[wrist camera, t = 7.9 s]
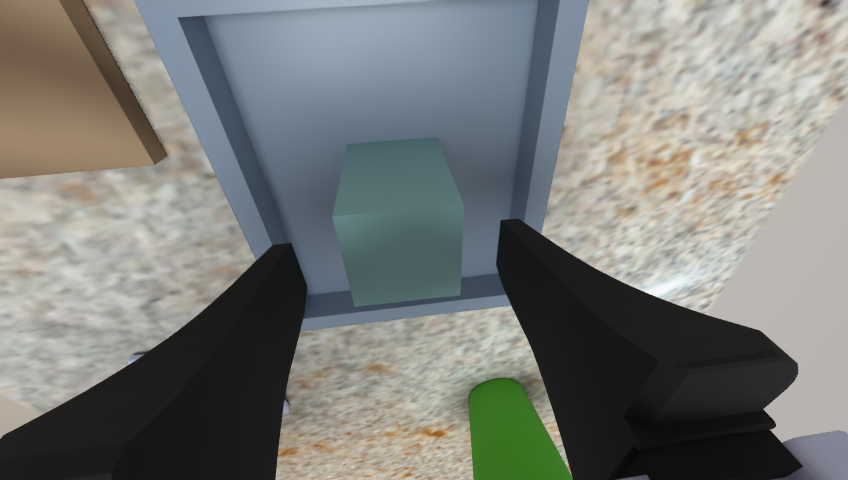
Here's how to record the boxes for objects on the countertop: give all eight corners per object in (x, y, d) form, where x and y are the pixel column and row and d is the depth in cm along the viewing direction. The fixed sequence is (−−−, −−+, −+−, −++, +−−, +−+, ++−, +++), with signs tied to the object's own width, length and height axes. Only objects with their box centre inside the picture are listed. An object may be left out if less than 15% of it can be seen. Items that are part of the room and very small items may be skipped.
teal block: (436, 137, 15) (464, 204, 10) (437, 227, 18) (459, 312, 13) (347, 144, 15) (332, 216, 10) (364, 234, 18) (358, 324, 13)
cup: (562, 374, 30) (638, 530, 21) (506, 421, 34) (549, 566, 26) (480, 357, 27) (530, 532, 18) (430, 411, 31) (451, 572, 23)
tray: (513, 276, 22) (526, 303, 20) (298, 301, 21) (290, 332, 19) (563, -43, 12) (599, -50, 10) (166, -20, 11) (122, -24, 9)
